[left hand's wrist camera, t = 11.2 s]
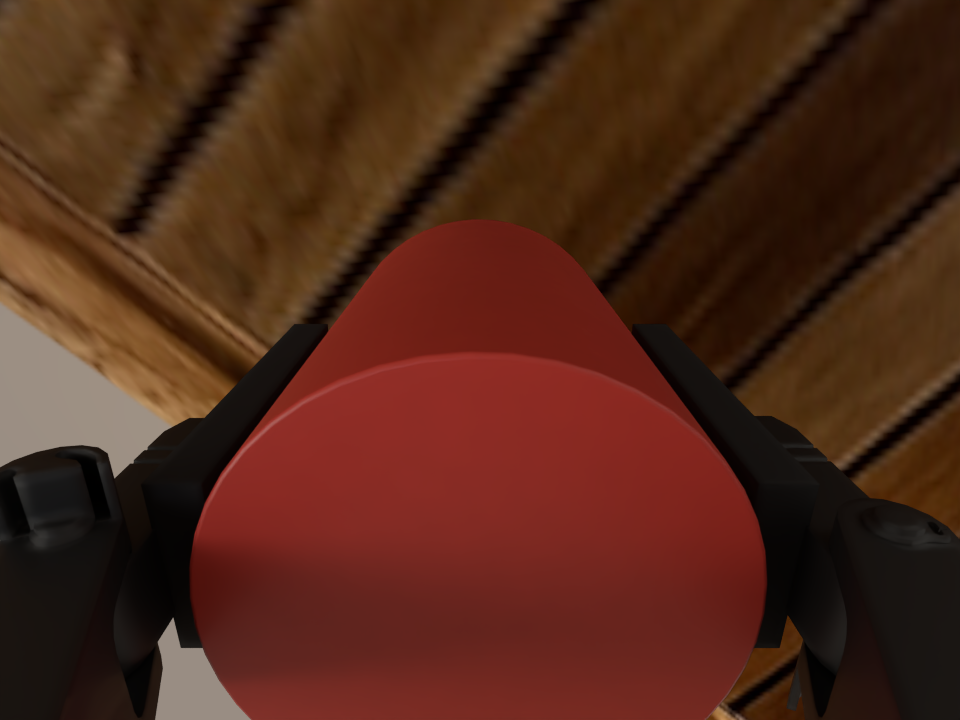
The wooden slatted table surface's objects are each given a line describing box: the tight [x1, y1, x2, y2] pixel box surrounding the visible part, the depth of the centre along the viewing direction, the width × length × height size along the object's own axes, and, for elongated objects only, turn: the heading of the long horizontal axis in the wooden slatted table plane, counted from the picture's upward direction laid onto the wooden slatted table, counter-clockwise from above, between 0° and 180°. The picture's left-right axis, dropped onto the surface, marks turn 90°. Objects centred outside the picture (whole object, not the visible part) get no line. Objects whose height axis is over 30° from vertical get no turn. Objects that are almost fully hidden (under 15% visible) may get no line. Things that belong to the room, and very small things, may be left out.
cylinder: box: [190, 219, 767, 720], centre depth 12 cm, size 7×7×10 cm
